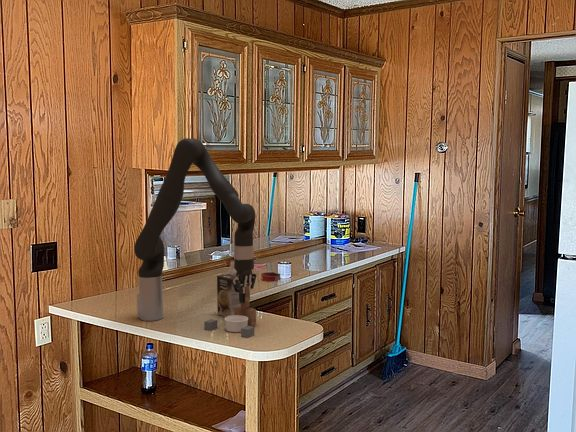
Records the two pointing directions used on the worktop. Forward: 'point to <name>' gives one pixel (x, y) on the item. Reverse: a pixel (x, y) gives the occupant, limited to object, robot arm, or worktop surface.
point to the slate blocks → (245, 331)
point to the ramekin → (235, 323)
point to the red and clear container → (270, 276)
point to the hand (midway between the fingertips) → (244, 301)
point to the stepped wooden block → (246, 309)
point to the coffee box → (226, 295)
